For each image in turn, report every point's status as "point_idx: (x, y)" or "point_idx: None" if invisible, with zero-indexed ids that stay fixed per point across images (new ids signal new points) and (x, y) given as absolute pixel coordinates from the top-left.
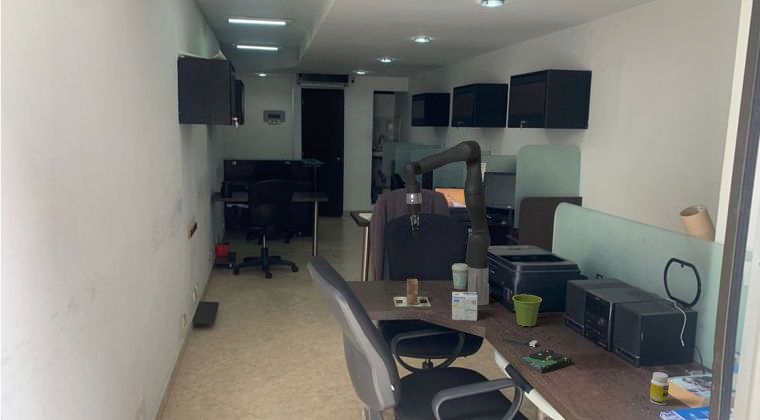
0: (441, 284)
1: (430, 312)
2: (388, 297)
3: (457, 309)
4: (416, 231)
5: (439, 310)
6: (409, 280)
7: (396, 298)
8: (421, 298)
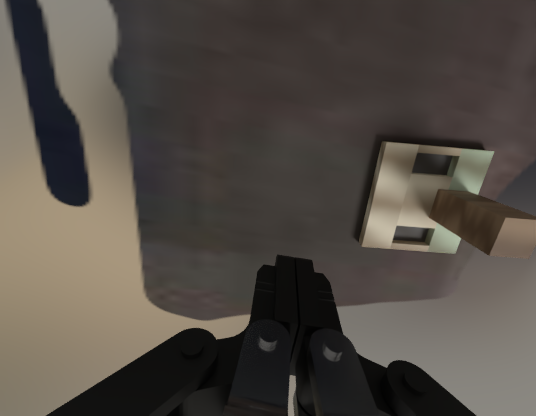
0: (179, 33)
1: (511, 156)
2: (330, 251)
3: None
4: (340, 330)
5: (504, 123)
6: (517, 250)
7: (381, 240)
8: (401, 165)
